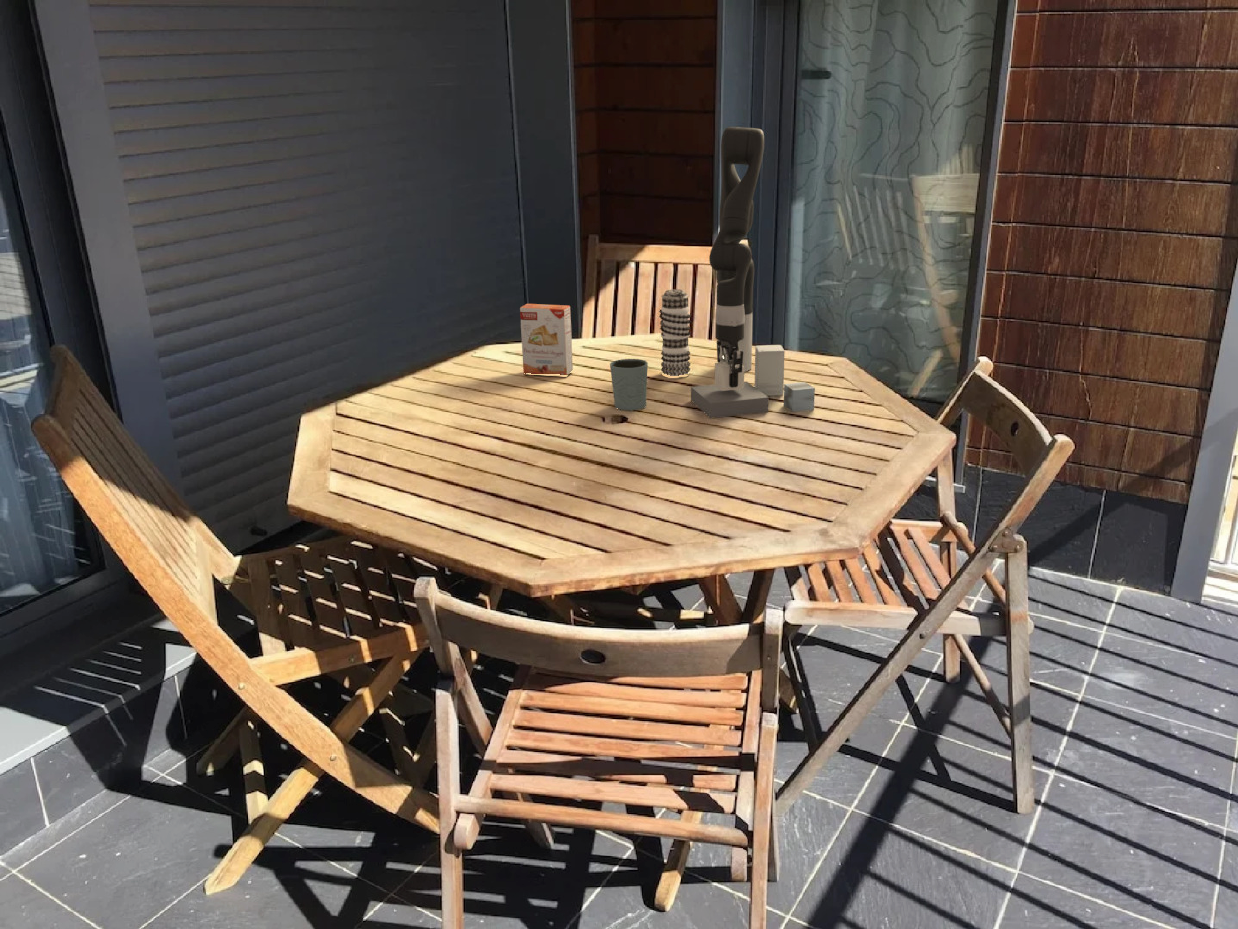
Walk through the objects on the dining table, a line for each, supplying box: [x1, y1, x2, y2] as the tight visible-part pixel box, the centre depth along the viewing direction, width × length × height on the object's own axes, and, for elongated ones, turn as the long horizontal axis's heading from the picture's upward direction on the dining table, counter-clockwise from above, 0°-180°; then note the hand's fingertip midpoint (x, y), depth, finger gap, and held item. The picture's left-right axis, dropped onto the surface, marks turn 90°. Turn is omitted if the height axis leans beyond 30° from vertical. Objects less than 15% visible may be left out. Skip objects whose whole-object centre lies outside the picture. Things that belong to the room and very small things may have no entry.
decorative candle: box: [658, 288, 692, 376], centre depth 304 cm, size 9×9×25 cm
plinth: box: [690, 381, 770, 419], centre depth 276 cm, size 16×16×4 cm
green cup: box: [609, 358, 649, 412], centre depth 278 cm, size 10×10×12 cm
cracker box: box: [519, 303, 574, 375], centre depth 308 cm, size 14×6×21 cm, turn 73°
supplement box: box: [754, 344, 786, 397], centre depth 287 cm, size 7×7×13 cm
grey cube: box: [783, 381, 816, 413], centre depth 274 cm, size 6×6×6 cm
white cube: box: [714, 362, 745, 391], centre depth 274 cm, size 6×6×6 cm
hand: (729, 383), depth 275 cm, fingers closed on white cube, 6 cm apart
